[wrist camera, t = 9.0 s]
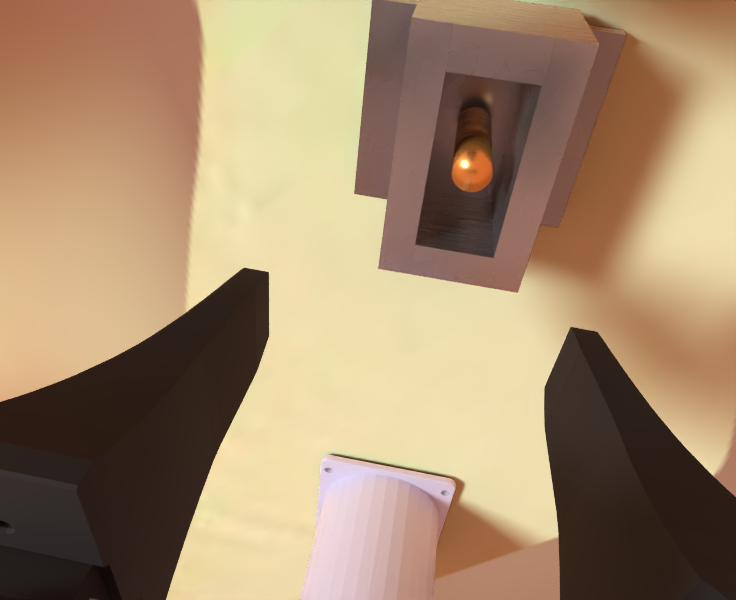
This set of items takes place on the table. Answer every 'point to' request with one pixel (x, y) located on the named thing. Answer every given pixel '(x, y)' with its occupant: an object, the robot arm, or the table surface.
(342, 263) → the table surface
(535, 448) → the table surface
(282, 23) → the table surface
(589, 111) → the keeper
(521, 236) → the hollow rectangular frame
